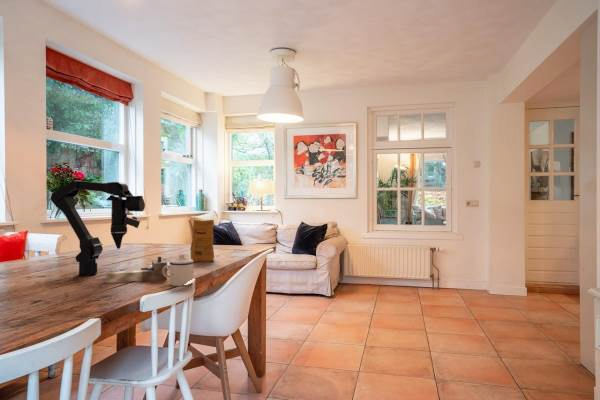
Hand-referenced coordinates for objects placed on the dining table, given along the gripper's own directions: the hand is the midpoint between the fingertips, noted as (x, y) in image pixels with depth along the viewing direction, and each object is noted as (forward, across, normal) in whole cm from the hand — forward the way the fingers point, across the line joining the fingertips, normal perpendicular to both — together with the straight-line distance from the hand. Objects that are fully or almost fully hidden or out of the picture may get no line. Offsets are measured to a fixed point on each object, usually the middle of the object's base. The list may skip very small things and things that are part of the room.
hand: (118, 247), depth 168 cm
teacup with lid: (+12, -27, -21) cm, 36 cm away
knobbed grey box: (+12, -13, -13) cm, 22 cm away
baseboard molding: (+13, +9, -16) cm, 22 cm away
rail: (+12, -13, -3) cm, 18 cm away
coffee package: (+12, +25, -41) cm, 50 cm away
